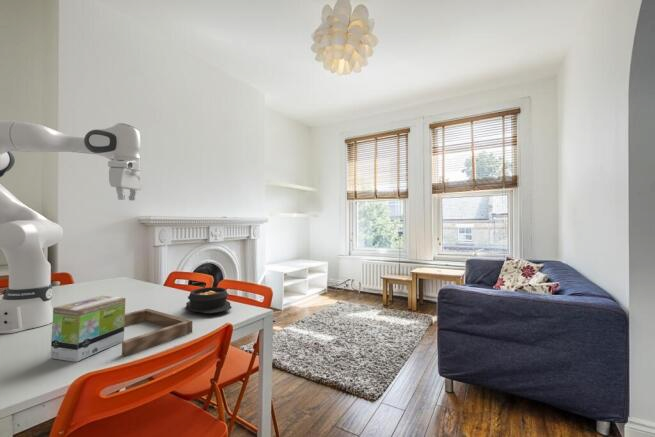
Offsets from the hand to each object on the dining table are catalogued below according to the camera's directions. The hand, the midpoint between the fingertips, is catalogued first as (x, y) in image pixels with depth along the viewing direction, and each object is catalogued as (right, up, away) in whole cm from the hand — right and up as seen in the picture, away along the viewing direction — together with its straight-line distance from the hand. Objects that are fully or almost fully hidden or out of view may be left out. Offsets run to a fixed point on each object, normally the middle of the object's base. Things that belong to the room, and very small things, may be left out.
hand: (126, 200), depth 118 cm
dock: (+15, -48, -16) cm, 52 cm away
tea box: (+8, -48, -28) cm, 56 cm away
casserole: (+27, -49, +14) cm, 57 cm away
